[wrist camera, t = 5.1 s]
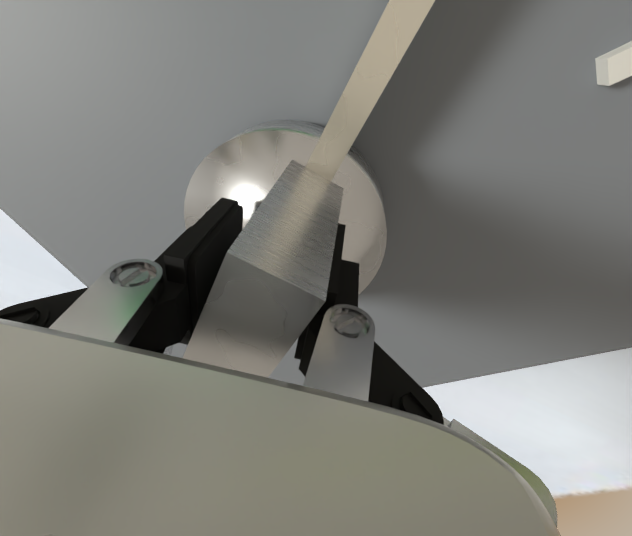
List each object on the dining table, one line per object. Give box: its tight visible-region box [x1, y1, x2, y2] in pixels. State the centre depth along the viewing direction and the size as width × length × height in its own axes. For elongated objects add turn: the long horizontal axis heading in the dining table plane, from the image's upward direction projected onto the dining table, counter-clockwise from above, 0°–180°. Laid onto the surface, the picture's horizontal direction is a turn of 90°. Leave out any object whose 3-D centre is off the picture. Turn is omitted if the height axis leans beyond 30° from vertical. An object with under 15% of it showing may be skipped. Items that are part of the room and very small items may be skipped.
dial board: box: [0, 0, 632, 388], centre depth 14 cm, size 28×28×4 cm
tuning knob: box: [183, 0, 435, 378], centre depth 9 cm, size 14×8×8 cm, turn 152°
